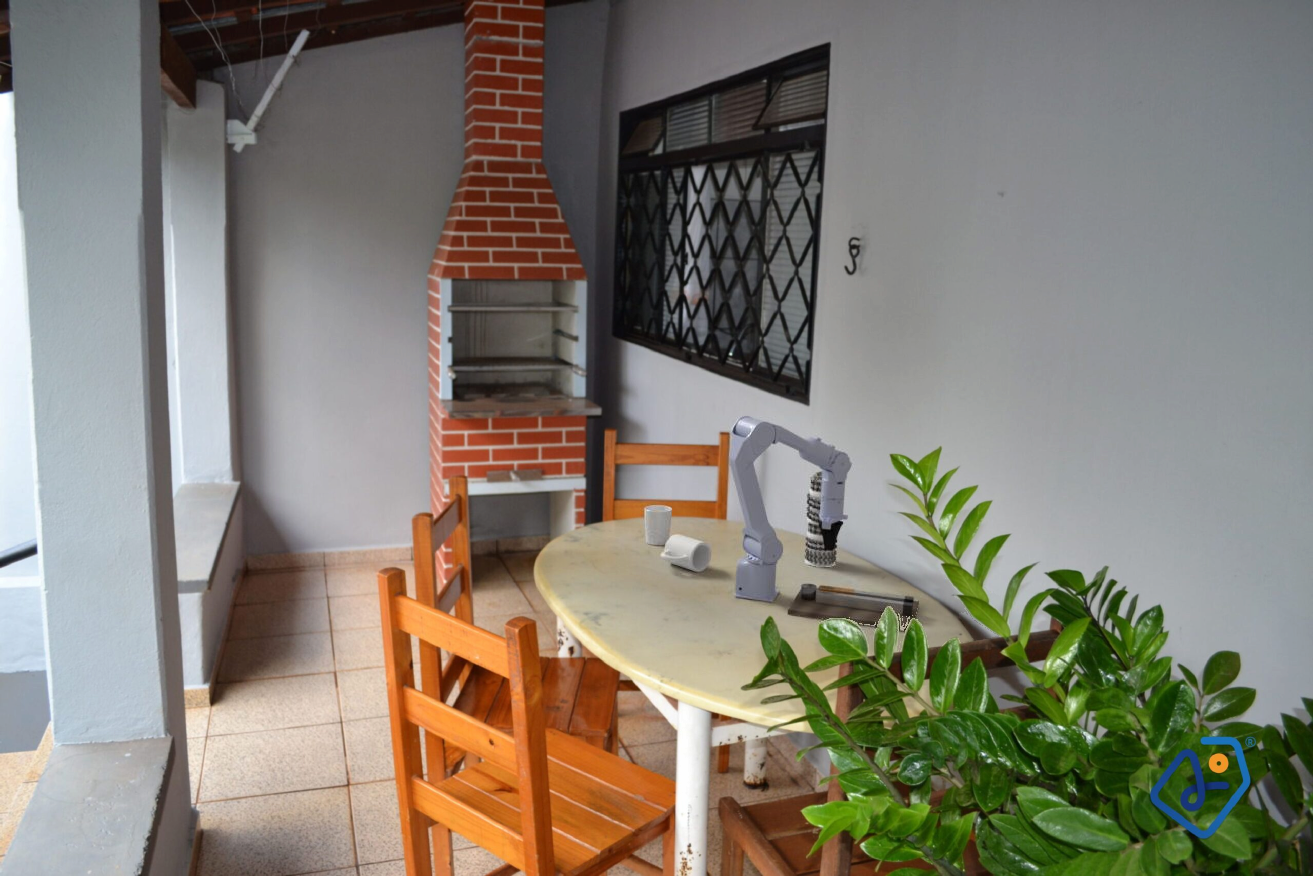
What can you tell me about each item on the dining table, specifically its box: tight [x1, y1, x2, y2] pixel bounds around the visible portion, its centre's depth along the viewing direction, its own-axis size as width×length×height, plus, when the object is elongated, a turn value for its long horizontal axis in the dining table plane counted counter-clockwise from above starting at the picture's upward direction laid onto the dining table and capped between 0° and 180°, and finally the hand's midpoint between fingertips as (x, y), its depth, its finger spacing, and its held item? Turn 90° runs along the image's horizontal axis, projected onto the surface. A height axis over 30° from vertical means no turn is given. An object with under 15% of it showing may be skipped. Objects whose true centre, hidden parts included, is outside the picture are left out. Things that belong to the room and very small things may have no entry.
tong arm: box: [800, 583, 915, 611], centre depth 230 cm, size 26×4×3 cm, turn 72°
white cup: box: [644, 504, 673, 546], centre depth 279 cm, size 8×8×10 cm
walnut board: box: [787, 587, 920, 632], centre depth 230 cm, size 28×18×1 cm, turn 71°
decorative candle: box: [804, 470, 838, 567], centre depth 263 cm, size 9×9×25 cm
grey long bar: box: [816, 590, 913, 616], centre depth 228 cm, size 22×2×2 cm, turn 71°
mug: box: [660, 533, 712, 573], centre depth 257 cm, size 12×10×8 cm
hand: (829, 549), depth 245 cm, fingers closed
